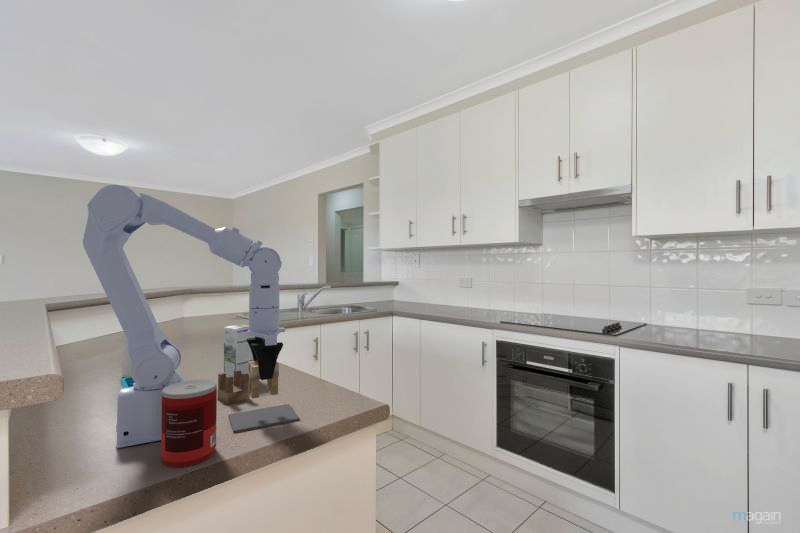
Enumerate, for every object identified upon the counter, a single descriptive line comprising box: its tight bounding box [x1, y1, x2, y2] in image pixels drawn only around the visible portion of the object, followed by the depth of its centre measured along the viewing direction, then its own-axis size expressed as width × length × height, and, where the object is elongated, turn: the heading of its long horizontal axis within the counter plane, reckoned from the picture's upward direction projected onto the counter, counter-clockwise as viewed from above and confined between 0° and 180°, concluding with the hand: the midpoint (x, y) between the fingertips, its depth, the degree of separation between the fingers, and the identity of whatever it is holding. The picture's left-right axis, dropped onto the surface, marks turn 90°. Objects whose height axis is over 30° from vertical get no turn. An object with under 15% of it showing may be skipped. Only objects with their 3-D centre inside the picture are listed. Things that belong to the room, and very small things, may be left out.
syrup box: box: [223, 324, 255, 383], centre depth 102 cm, size 6×6×14 cm
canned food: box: [160, 379, 218, 468], centre depth 60 cm, size 8×8×11 cm
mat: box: [227, 403, 301, 434], centre depth 75 cm, size 12×9×1 cm
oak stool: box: [248, 361, 280, 400], centre depth 75 cm, size 5×5×6 cm
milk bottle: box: [121, 330, 132, 378], centre depth 106 cm, size 8×8×20 cm
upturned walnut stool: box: [217, 370, 250, 405], centre depth 86 cm, size 5×5×6 cm
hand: (263, 375), depth 75 cm, fingers closed on oak stool, 5 cm apart
